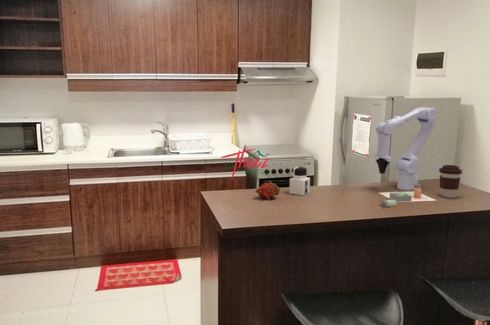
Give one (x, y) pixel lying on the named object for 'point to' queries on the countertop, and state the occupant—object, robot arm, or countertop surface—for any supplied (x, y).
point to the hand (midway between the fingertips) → (382, 173)
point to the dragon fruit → (268, 190)
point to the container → (299, 182)
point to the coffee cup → (449, 180)
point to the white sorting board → (406, 197)
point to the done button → (400, 193)
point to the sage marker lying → (388, 203)
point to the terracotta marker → (417, 190)
